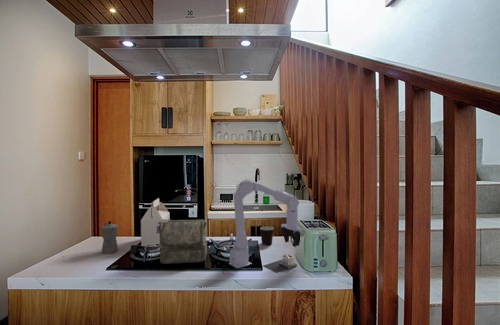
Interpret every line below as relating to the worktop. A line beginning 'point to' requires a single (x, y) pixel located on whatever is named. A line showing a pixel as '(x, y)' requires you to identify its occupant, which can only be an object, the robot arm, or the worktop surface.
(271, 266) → the mat
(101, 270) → the worktop surface
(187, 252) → the lunch bag
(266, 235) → the coffee mug
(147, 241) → the gable box
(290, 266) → the doorknob
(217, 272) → the worktop surface
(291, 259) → the ring
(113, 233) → the coffeepot
